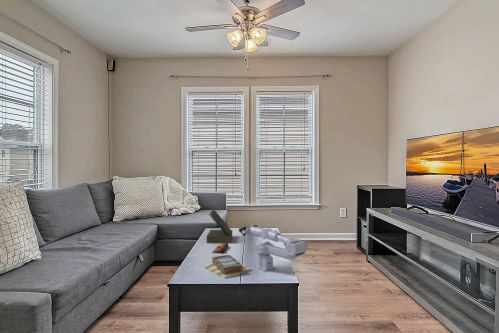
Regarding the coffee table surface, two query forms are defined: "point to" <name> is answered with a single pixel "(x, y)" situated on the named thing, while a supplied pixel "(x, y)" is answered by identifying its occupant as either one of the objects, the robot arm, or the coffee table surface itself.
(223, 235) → the green open lidded box
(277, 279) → the coffee table surface
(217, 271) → the birch board
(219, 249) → the sweet potato
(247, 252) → the coffee table surface
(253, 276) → the coffee table surface
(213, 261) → the tan cardboard box
